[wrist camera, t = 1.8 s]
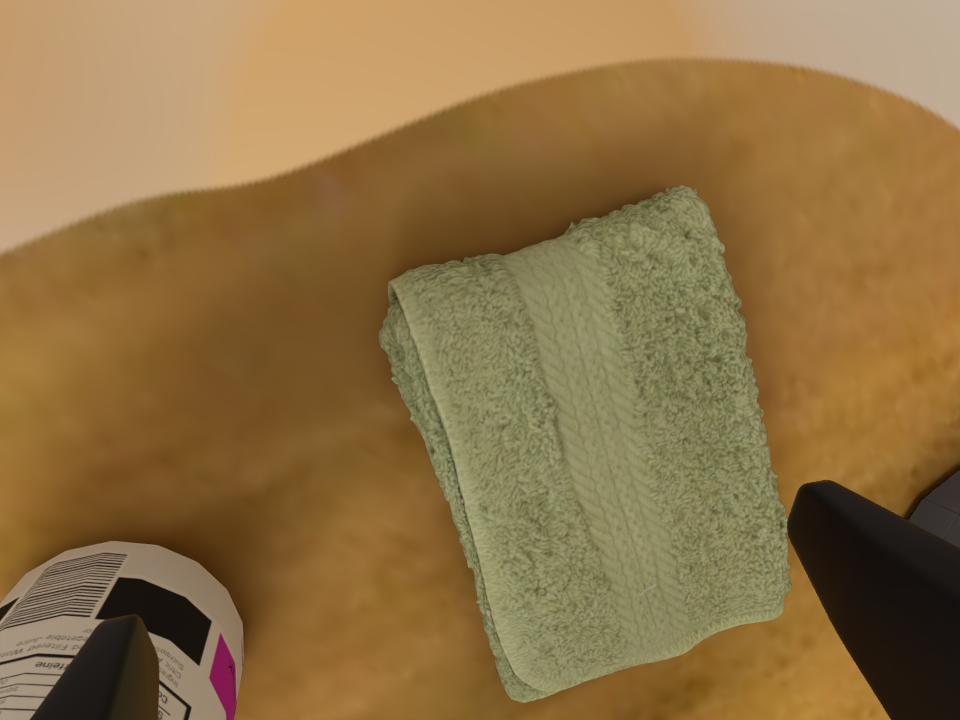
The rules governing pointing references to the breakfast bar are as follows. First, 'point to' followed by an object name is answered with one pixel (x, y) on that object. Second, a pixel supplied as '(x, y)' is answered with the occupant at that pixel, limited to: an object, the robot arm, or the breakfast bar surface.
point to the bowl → (941, 511)
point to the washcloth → (596, 441)
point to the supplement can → (114, 593)
